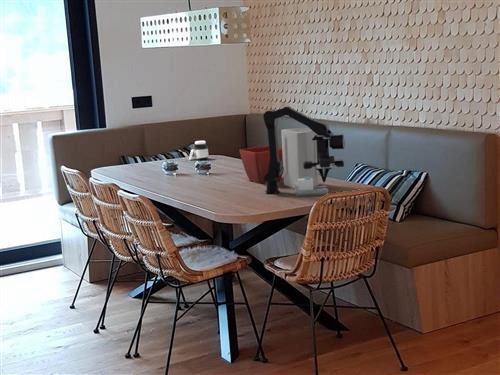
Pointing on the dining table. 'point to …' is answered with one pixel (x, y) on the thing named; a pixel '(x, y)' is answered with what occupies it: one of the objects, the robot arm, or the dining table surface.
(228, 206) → the dining table surface
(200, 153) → the spread jar
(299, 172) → the paper bag
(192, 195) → the dining table surface
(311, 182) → the module
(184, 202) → the dining table surface
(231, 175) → the dining table surface
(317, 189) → the grey folded cloth
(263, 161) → the plant pot
